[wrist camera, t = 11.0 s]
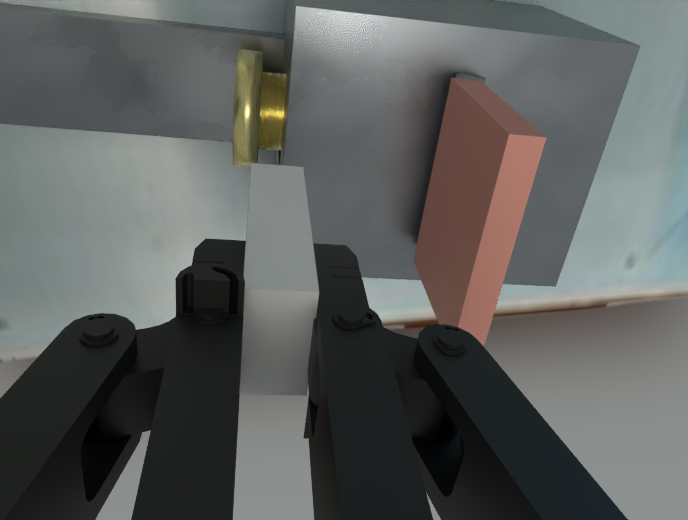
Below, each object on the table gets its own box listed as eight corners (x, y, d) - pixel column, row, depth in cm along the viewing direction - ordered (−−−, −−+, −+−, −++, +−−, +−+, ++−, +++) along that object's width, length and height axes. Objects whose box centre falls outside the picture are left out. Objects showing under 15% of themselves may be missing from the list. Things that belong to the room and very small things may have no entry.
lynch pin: (236, 143, 29) (231, 183, 25) (240, 38, 27) (235, 64, 23) (532, 166, 31) (571, 207, 27) (559, 72, 29) (608, 101, 25)
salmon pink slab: (408, 248, 24) (450, 353, 19) (444, 70, 21) (509, 134, 15) (440, 250, 24) (490, 354, 19) (480, 74, 21) (557, 138, 15)
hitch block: (-58, 159, 29) (-173, 251, 22) (-110, -74, 25) (-281, -61, 17) (490, 197, 34) (555, 286, 26) (541, 6, 29) (640, 45, 21)
